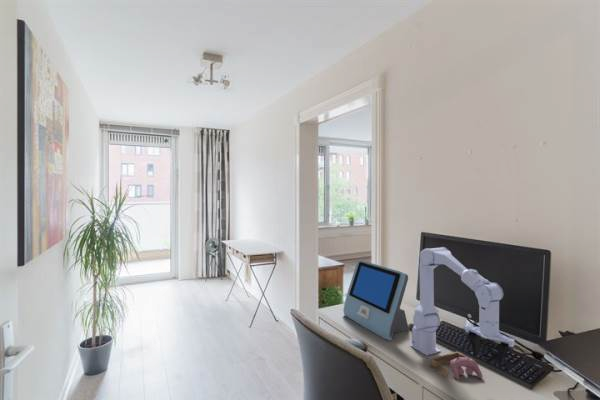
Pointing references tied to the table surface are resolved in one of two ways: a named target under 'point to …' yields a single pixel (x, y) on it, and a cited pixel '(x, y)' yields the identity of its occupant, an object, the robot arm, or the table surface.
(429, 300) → the robot arm
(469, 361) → the video game controller
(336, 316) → the table surface
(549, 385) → the table surface
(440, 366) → the docking cradle
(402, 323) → the touchscreen device
